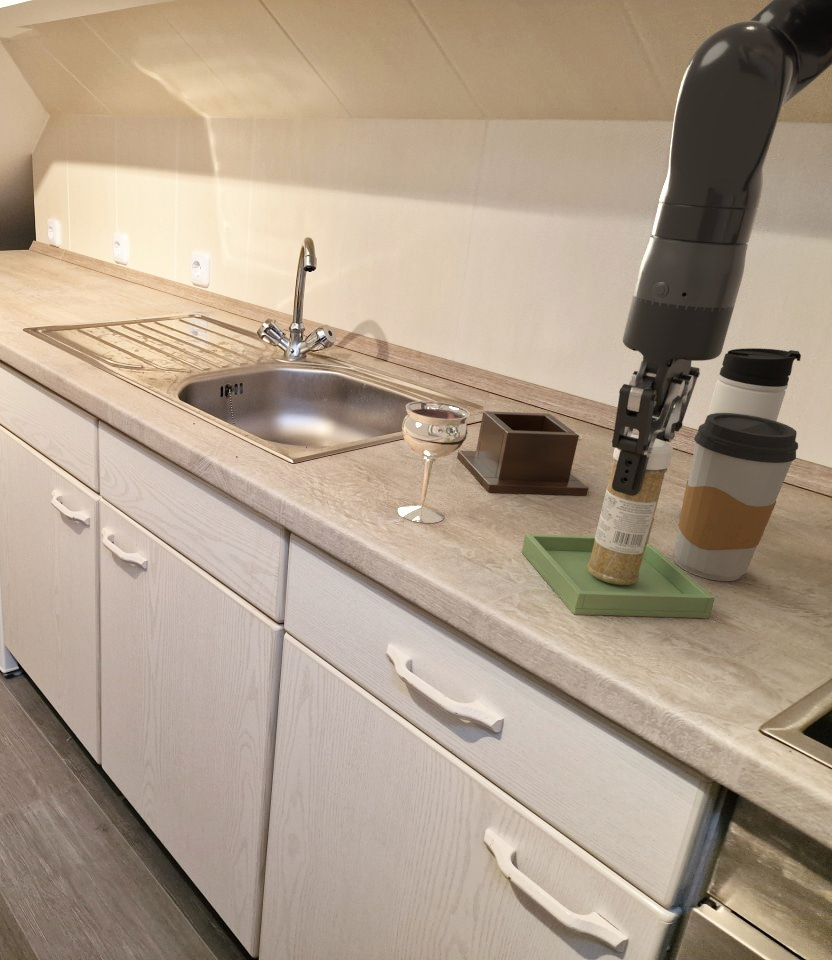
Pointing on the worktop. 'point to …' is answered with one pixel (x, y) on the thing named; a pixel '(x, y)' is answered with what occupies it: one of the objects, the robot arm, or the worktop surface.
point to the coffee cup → (731, 492)
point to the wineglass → (432, 445)
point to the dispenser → (524, 455)
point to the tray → (584, 594)
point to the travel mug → (753, 382)
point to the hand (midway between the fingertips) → (635, 484)
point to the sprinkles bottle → (628, 521)
